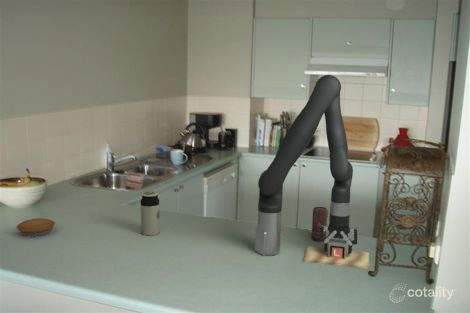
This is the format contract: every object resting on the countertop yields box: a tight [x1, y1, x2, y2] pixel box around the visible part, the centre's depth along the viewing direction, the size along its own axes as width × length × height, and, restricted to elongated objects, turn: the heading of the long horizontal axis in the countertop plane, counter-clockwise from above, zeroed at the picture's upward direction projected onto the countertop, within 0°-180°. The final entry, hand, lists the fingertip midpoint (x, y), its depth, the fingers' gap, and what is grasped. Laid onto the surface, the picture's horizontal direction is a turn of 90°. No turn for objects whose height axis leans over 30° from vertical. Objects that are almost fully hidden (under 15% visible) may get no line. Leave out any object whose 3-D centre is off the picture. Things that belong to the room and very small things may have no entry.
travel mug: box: [140, 190, 161, 236], centre depth 211 cm, size 8×8×18 cm
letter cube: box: [332, 246, 343, 259], centre depth 187 cm, size 4×4×4 cm
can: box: [311, 206, 329, 243], centre depth 206 cm, size 6×6×14 cm
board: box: [303, 245, 370, 270], centre depth 187 cm, size 24×14×1 cm, turn 76°
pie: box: [16, 217, 56, 238], centre depth 210 cm, size 15×16×5 cm
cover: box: [328, 238, 347, 260], centre depth 187 cm, size 6×6×6 cm
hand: (337, 252), depth 187 cm, fingers open, 8 cm apart
